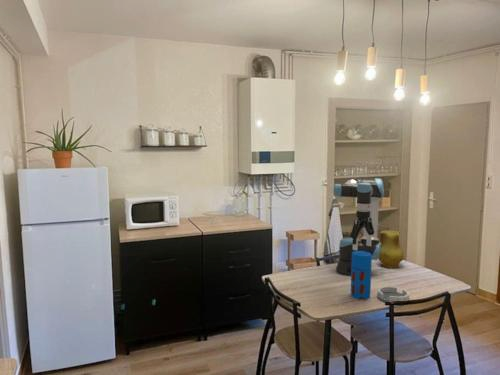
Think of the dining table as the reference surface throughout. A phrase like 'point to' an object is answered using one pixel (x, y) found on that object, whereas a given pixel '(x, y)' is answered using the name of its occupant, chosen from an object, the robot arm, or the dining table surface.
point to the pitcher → (390, 249)
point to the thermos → (361, 275)
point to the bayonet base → (391, 294)
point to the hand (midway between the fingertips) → (362, 247)
